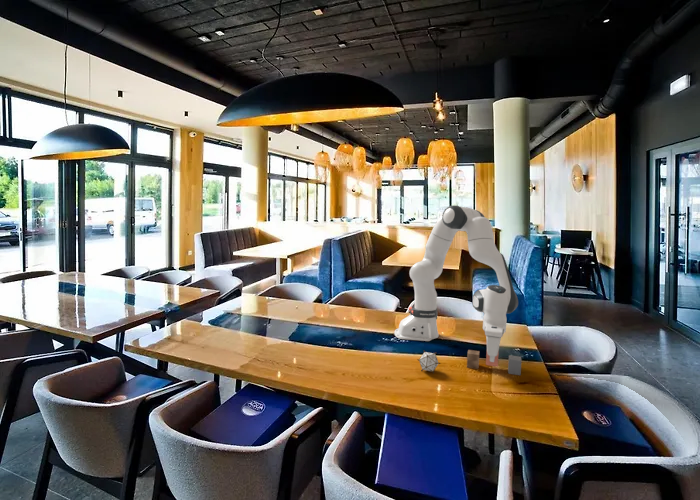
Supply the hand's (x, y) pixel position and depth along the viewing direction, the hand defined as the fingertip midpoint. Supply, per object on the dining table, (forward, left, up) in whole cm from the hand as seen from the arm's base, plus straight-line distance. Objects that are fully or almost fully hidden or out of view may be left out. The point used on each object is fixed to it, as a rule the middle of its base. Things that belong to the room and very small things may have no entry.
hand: (492, 358), depth 161 cm
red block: (0, 0, -2) cm, 2 cm away
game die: (-26, -3, -5) cm, 27 cm away
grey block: (+8, -3, -4) cm, 10 cm away
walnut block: (-7, +3, -4) cm, 9 cm away
